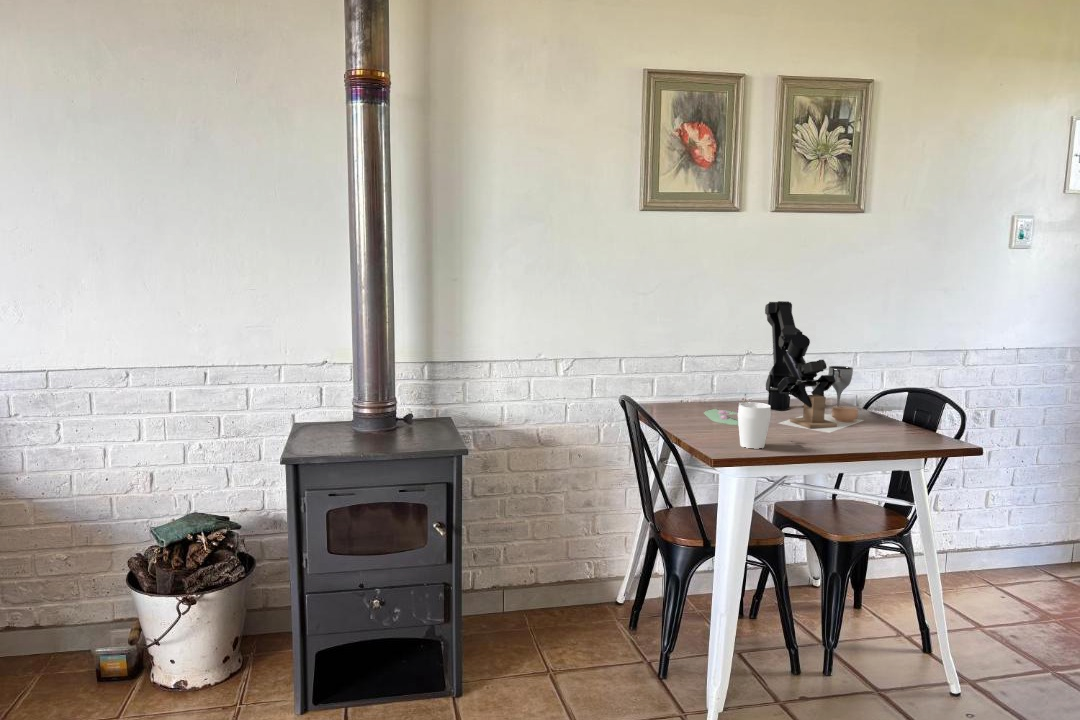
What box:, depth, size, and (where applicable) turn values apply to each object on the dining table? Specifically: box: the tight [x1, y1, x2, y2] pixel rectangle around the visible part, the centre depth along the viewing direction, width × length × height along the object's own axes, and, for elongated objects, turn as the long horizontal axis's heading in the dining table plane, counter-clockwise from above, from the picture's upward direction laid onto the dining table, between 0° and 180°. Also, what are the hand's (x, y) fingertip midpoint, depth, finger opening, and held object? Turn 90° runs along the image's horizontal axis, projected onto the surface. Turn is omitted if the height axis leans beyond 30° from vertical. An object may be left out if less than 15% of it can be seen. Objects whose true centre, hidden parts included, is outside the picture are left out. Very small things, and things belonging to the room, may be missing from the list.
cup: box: [737, 401, 772, 450], centre depth 226 cm, size 9×9×12 cm
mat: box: [777, 413, 865, 434], centre depth 256 cm, size 17×26×1 cm, turn 136°
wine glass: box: [828, 365, 854, 406], centre depth 280 cm, size 8×8×15 cm
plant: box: [703, 393, 752, 426], centre depth 265 cm, size 25×21×9 cm
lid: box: [789, 394, 837, 430], centre depth 251 cm, size 10×10×9 cm
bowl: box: [831, 405, 859, 422], centre depth 259 cm, size 8×8×4 cm
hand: (817, 406), depth 250 cm, fingers closed on lid, 4 cm apart
